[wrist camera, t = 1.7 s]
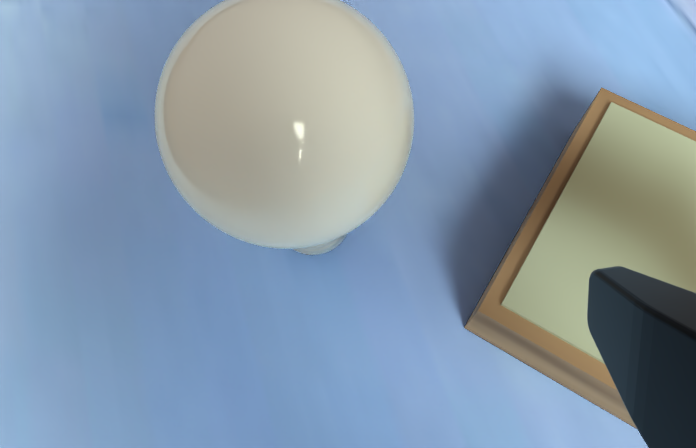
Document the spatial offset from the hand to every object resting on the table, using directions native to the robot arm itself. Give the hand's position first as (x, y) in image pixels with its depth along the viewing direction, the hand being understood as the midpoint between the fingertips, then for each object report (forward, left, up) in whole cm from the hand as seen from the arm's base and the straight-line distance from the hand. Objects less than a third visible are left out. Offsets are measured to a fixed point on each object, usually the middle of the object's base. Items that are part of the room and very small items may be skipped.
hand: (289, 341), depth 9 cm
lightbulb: (+5, +4, -12) cm, 14 cm away
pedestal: (+9, -7, -12) cm, 17 cm away
